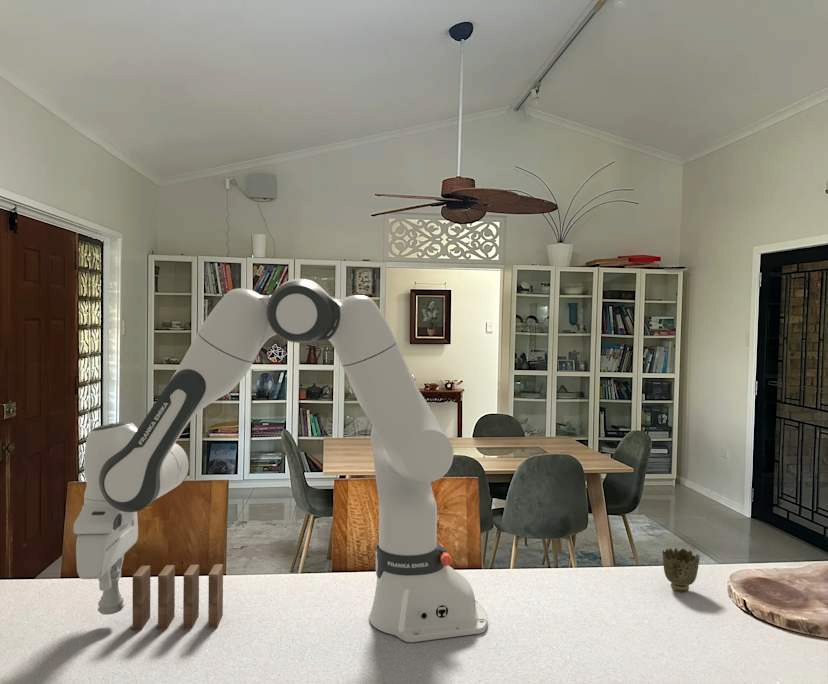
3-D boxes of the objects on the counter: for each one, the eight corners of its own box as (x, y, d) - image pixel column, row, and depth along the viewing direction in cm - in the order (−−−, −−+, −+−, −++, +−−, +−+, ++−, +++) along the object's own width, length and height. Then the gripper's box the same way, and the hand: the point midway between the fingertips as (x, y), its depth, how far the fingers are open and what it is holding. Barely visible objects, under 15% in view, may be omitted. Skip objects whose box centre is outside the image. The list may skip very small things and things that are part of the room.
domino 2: (174, 616, 123) (174, 565, 123) (166, 629, 118) (167, 575, 118) (165, 617, 123) (166, 565, 122) (157, 629, 118) (158, 575, 117)
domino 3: (198, 616, 123) (199, 564, 123) (192, 628, 118) (192, 574, 118) (190, 616, 123) (190, 564, 123) (183, 628, 118) (183, 575, 118)
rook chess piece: (129, 605, 121) (129, 563, 121) (114, 616, 116) (114, 572, 116) (107, 603, 122) (108, 561, 121) (92, 614, 117) (92, 570, 117)
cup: (654, 585, 141) (655, 549, 141) (681, 581, 143) (682, 546, 143) (677, 599, 134) (678, 561, 134) (706, 595, 136) (707, 557, 136)
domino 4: (222, 615, 124) (223, 564, 123) (217, 627, 119) (217, 574, 118) (214, 615, 123) (214, 564, 123) (208, 628, 119) (208, 574, 118)
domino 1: (150, 617, 122) (150, 565, 122) (141, 629, 117) (141, 575, 117) (141, 617, 122) (141, 565, 122) (132, 630, 117) (132, 576, 117)
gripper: (113, 495, 129) (113, 563, 129) (68, 527, 108) (68, 608, 109) (146, 494, 129) (146, 563, 130) (107, 527, 109) (107, 607, 109)
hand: (110, 584), depth 119 cm, fingers closed on rook chess piece, 3 cm apart
